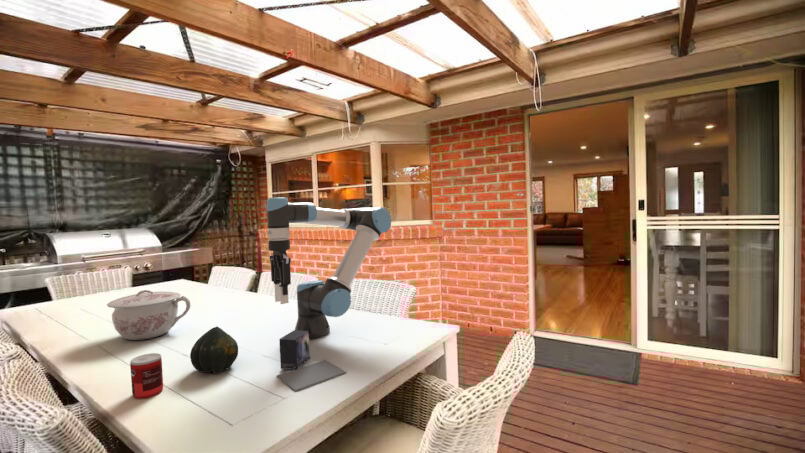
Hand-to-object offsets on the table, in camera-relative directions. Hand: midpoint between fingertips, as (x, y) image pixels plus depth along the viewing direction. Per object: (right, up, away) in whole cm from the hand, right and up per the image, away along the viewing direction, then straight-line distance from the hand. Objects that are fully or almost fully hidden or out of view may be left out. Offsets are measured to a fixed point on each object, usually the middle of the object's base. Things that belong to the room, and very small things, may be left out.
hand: (281, 302), depth 138 cm
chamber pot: (-70, -21, +30) cm, 80 cm away
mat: (+15, -21, -15) cm, 30 cm away
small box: (+7, -21, -7) cm, 23 cm away
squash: (-21, -22, -8) cm, 31 cm away
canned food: (-33, -23, -24) cm, 47 cm away
